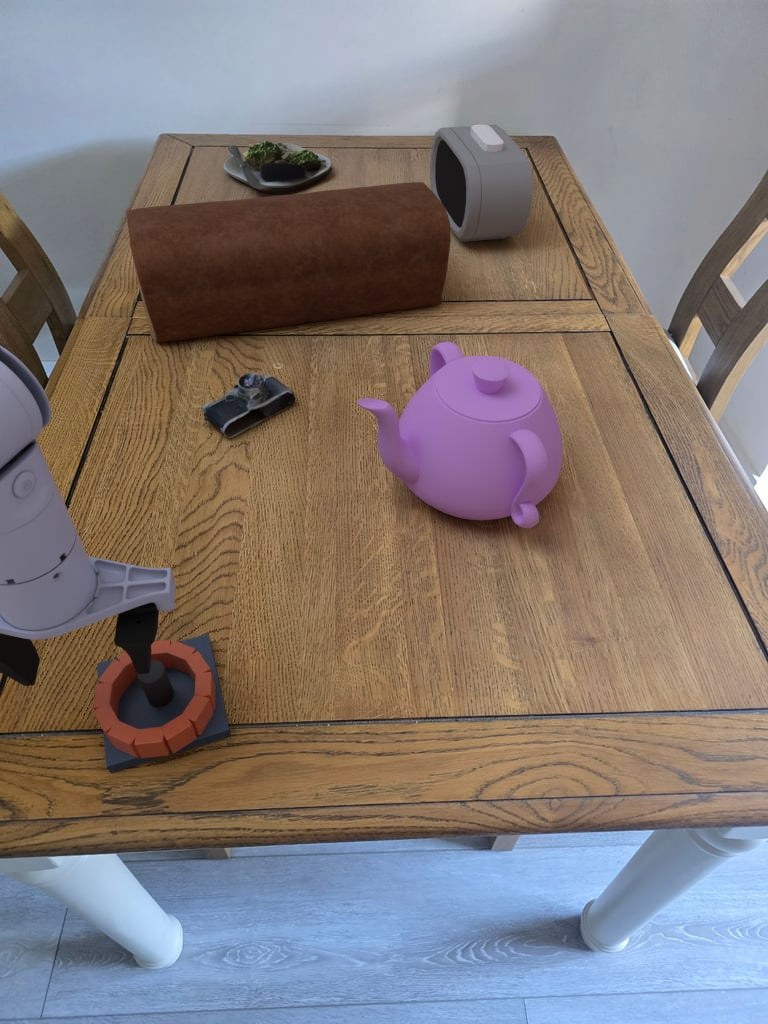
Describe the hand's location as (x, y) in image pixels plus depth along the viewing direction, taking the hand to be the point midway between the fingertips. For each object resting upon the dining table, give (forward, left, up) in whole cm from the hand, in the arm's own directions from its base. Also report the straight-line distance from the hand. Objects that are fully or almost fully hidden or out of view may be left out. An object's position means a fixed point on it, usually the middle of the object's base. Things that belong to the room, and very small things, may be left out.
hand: (89, 667), depth 50 cm
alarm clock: (+62, +69, -8) cm, 93 cm away
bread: (+29, +55, -8) cm, 63 cm away
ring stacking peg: (+4, 0, -8) cm, 8 cm away
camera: (+18, +33, -8) cm, 38 cm away
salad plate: (+36, +95, -8) cm, 102 cm away
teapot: (+36, +16, -8) cm, 40 cm away
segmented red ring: (+4, -1, -6) cm, 7 cm away
